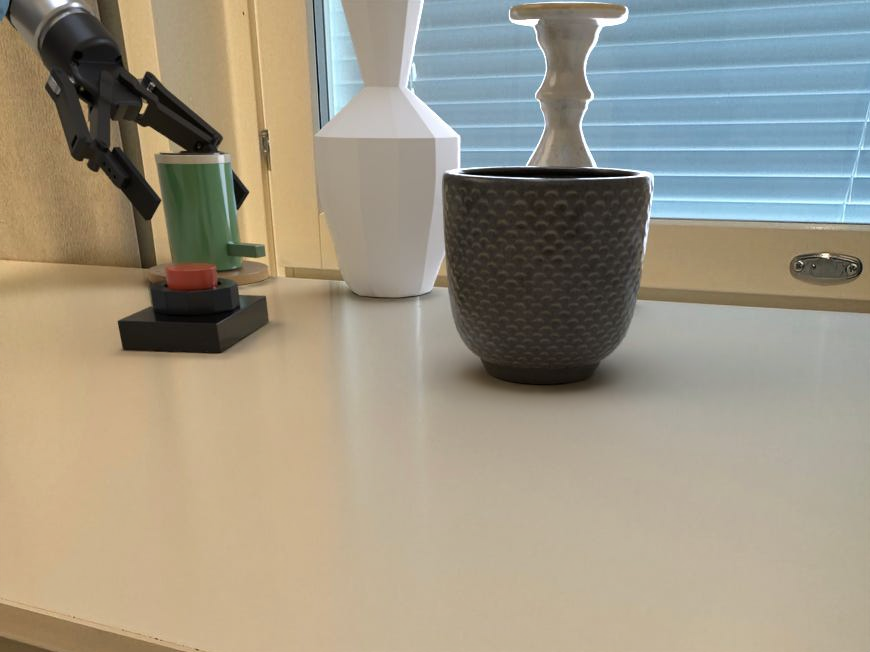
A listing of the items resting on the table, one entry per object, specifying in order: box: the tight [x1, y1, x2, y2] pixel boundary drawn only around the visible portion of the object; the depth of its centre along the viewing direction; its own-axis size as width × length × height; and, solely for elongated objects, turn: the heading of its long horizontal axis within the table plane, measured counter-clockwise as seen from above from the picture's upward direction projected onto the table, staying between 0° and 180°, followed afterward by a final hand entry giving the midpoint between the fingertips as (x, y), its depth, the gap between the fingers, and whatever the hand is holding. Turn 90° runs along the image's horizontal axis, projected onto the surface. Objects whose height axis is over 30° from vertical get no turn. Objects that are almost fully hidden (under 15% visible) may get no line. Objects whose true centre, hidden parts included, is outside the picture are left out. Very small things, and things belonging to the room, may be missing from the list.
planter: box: [442, 165, 655, 385], centre depth 61 cm, size 14×14×13 cm
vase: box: [313, 0, 461, 298], centre depth 86 cm, size 14×14×25 cm
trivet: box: [147, 259, 270, 286], centre depth 99 cm, size 13×13×1 cm
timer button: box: [165, 263, 218, 289], centre depth 72 cm, size 4×4×2 cm
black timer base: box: [117, 278, 270, 354], centre depth 73 cm, size 8×12×4 cm, turn 173°
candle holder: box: [508, 1, 629, 168], centre depth 82 cm, size 11×11×24 cm
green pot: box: [154, 150, 267, 271], centre depth 95 cm, size 12×8×11 cm
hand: (200, 206), depth 95 cm, fingers open, 13 cm apart
